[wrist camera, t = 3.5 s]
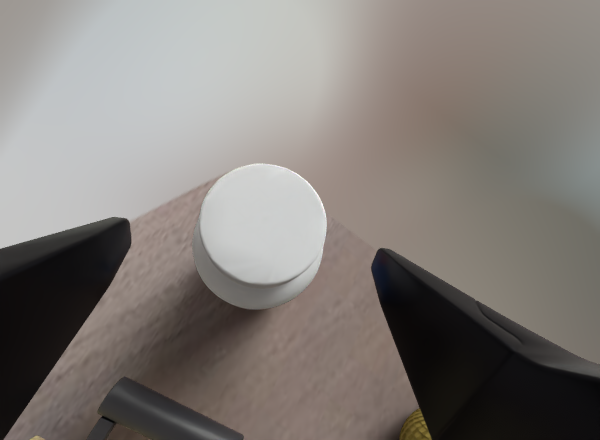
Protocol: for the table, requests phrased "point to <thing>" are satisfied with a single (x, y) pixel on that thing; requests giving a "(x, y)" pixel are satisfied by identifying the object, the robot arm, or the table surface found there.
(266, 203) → the pill bottle
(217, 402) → the table surface
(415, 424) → the sculpture
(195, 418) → the drawer
